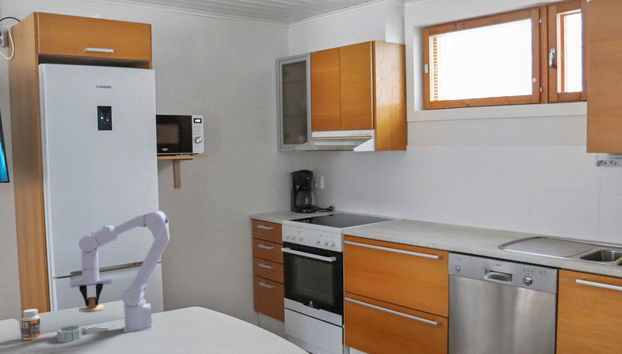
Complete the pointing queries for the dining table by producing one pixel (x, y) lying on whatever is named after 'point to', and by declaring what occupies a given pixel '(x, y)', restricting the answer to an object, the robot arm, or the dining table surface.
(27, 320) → the pill bottle
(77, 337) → the bowl
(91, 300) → the lid
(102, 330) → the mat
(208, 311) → the dining table surface
